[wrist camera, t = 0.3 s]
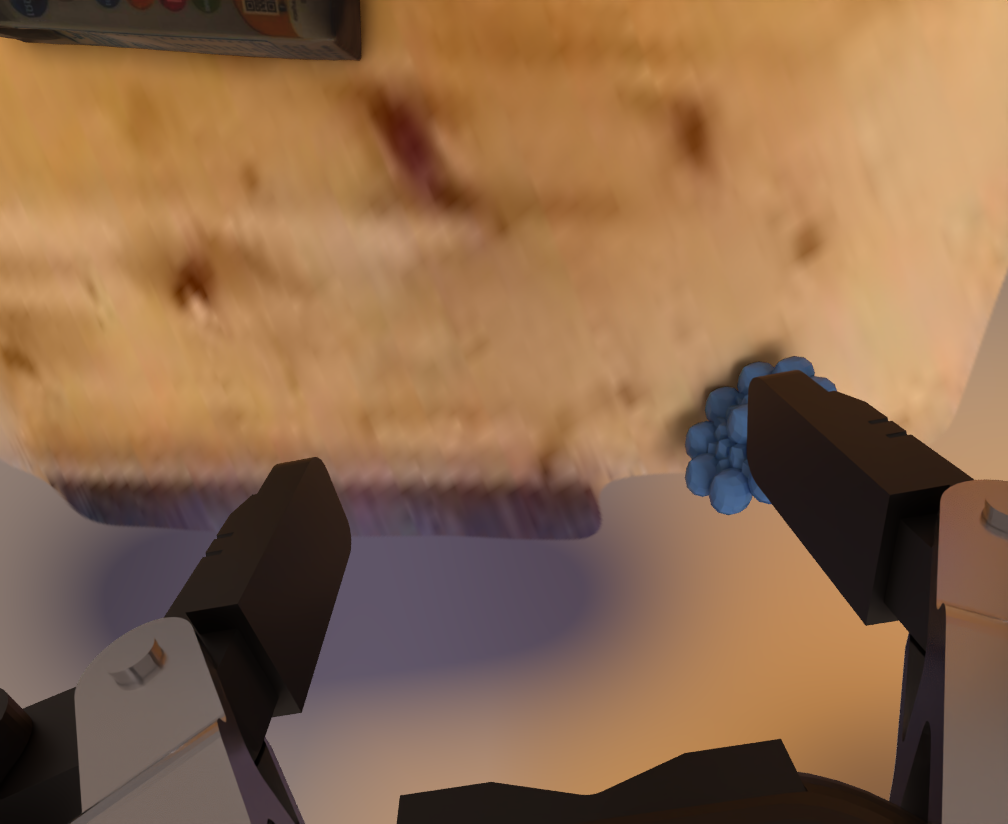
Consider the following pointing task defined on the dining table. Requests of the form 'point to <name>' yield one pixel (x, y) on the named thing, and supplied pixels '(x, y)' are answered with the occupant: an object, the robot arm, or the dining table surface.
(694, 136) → the dining table surface
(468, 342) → the dining table surface
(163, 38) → the beverage carton
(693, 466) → the grapes
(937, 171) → the dining table surface
